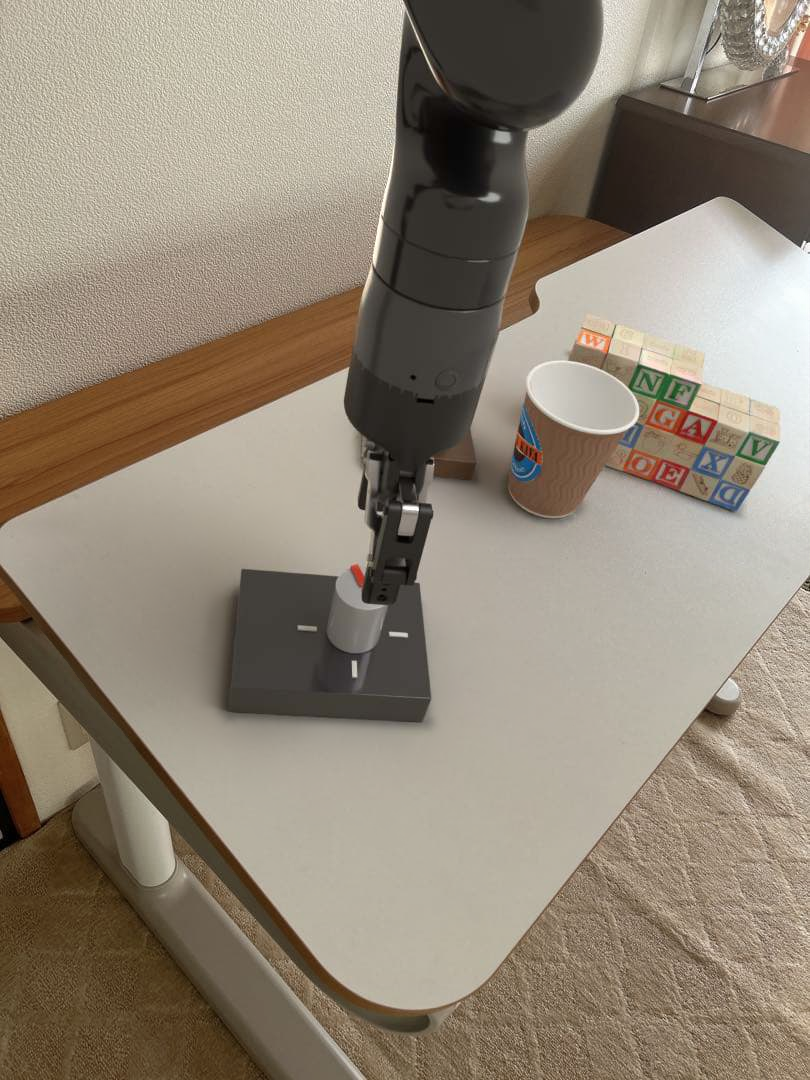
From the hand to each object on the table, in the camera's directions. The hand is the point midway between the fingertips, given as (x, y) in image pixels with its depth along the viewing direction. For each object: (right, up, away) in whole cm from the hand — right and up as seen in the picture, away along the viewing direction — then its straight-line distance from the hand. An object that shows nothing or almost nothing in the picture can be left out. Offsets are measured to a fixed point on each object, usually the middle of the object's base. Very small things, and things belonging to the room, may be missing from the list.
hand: (374, 552), depth 59 cm
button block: (+3, +11, +28) cm, 30 cm away
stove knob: (-2, -6, +6) cm, 9 cm away
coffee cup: (+15, +5, +26) cm, 31 cm away
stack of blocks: (+27, +9, +33) cm, 44 cm away
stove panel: (-4, -8, +8) cm, 12 cm away
